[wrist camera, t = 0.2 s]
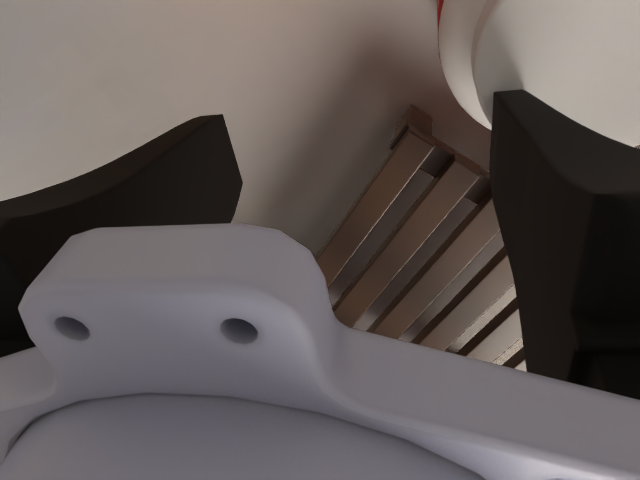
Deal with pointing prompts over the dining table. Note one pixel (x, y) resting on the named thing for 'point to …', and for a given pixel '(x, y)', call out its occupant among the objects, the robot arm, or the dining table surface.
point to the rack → (413, 230)
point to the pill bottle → (547, 58)
